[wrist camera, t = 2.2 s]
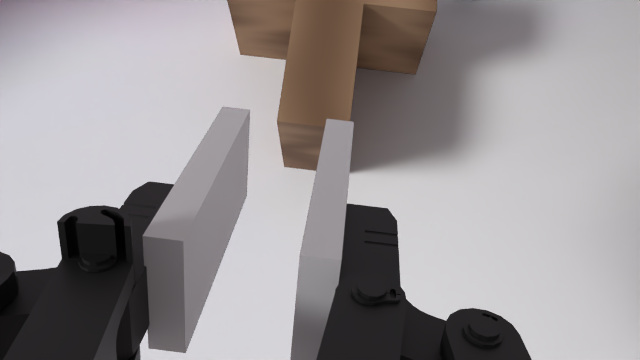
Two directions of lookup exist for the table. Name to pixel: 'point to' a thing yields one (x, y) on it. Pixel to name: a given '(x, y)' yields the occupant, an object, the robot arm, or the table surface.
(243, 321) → the table surface
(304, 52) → the t block
